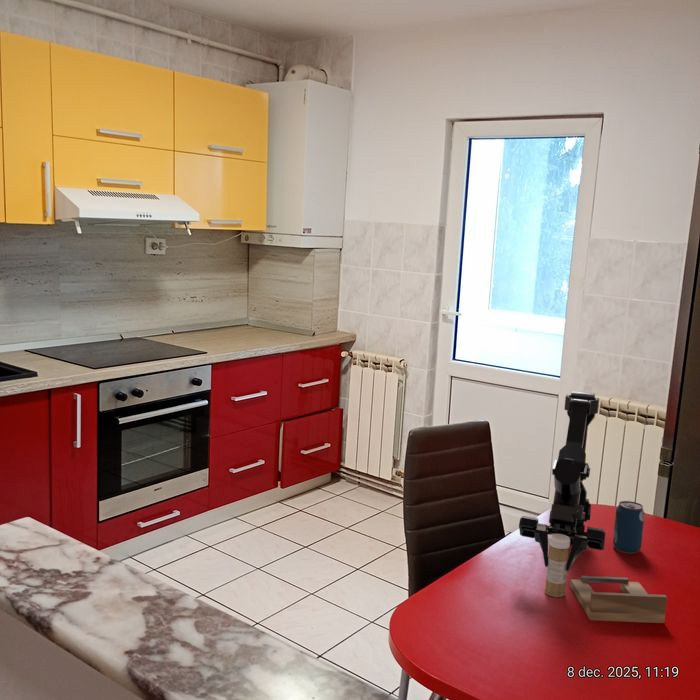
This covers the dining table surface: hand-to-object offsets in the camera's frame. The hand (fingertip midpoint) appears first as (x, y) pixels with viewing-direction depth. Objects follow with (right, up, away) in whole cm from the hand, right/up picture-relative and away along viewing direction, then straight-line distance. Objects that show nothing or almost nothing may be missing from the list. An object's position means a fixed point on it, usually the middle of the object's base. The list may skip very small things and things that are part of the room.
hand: (556, 568), depth 167 cm
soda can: (+26, -3, +28) cm, 39 cm away
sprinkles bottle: (0, -7, +2) cm, 7 cm away
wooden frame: (+12, -7, -1) cm, 15 cm away
